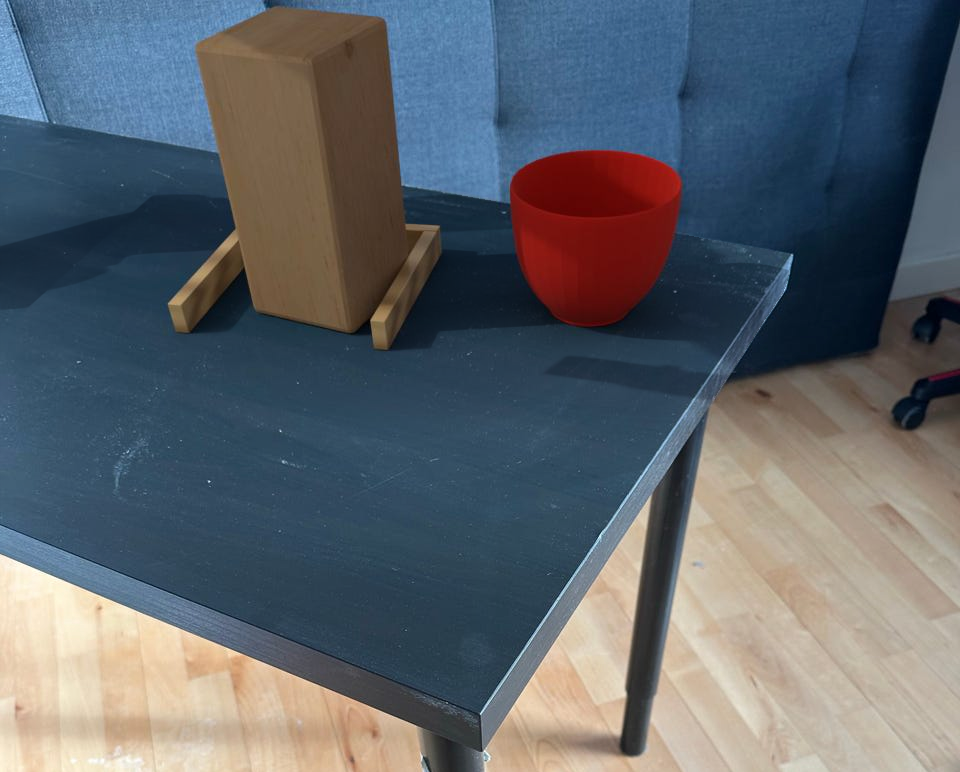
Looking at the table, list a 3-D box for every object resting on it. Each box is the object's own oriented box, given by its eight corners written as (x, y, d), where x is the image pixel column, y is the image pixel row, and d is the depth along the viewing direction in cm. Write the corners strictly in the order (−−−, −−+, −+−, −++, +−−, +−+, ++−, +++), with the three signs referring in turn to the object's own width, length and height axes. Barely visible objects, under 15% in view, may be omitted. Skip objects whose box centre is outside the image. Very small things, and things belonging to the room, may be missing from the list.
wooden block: (413, 282, 82) (388, 15, 67) (353, 336, 76) (311, 56, 61) (317, 262, 85) (273, 3, 70) (252, 313, 79) (190, 42, 64)
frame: (388, 350, 74) (384, 321, 72) (175, 332, 77) (167, 303, 75) (441, 252, 85) (440, 225, 84) (254, 240, 89) (248, 213, 87)
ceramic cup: (609, 241, 86) (617, 123, 78) (696, 328, 75) (714, 200, 67) (475, 267, 83) (470, 148, 76) (544, 361, 72) (546, 231, 65)
